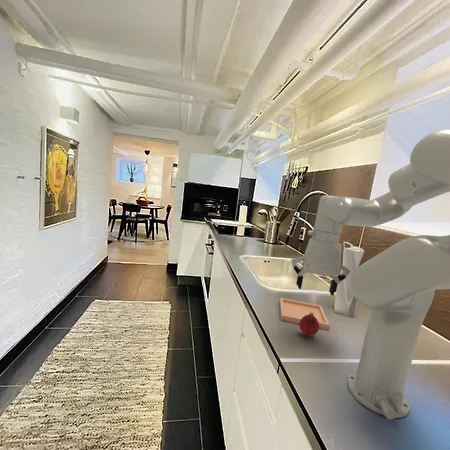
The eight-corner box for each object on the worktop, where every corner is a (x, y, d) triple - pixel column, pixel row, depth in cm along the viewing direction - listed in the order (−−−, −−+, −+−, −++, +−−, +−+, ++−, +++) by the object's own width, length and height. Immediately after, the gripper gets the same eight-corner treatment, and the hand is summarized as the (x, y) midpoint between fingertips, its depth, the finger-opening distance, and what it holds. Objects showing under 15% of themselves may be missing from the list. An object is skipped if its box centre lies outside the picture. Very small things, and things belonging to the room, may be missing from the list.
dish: (328, 330, 90) (329, 325, 90) (280, 320, 93) (281, 315, 93) (320, 310, 106) (321, 305, 106) (279, 302, 108) (280, 297, 108)
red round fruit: (317, 343, 81) (322, 318, 80) (298, 339, 82) (303, 314, 81) (315, 333, 87) (319, 310, 86) (297, 329, 88) (301, 306, 87)
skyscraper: (330, 311, 106) (344, 243, 102) (330, 304, 114) (343, 240, 110) (353, 317, 103) (368, 247, 100) (351, 309, 111) (365, 244, 107)
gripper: (297, 234, 78) (287, 289, 81) (360, 244, 75) (347, 301, 78) (295, 230, 85) (286, 281, 88) (352, 239, 83) (341, 291, 85)
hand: (315, 290), depth 83 cm, fingers open, 9 cm apart
